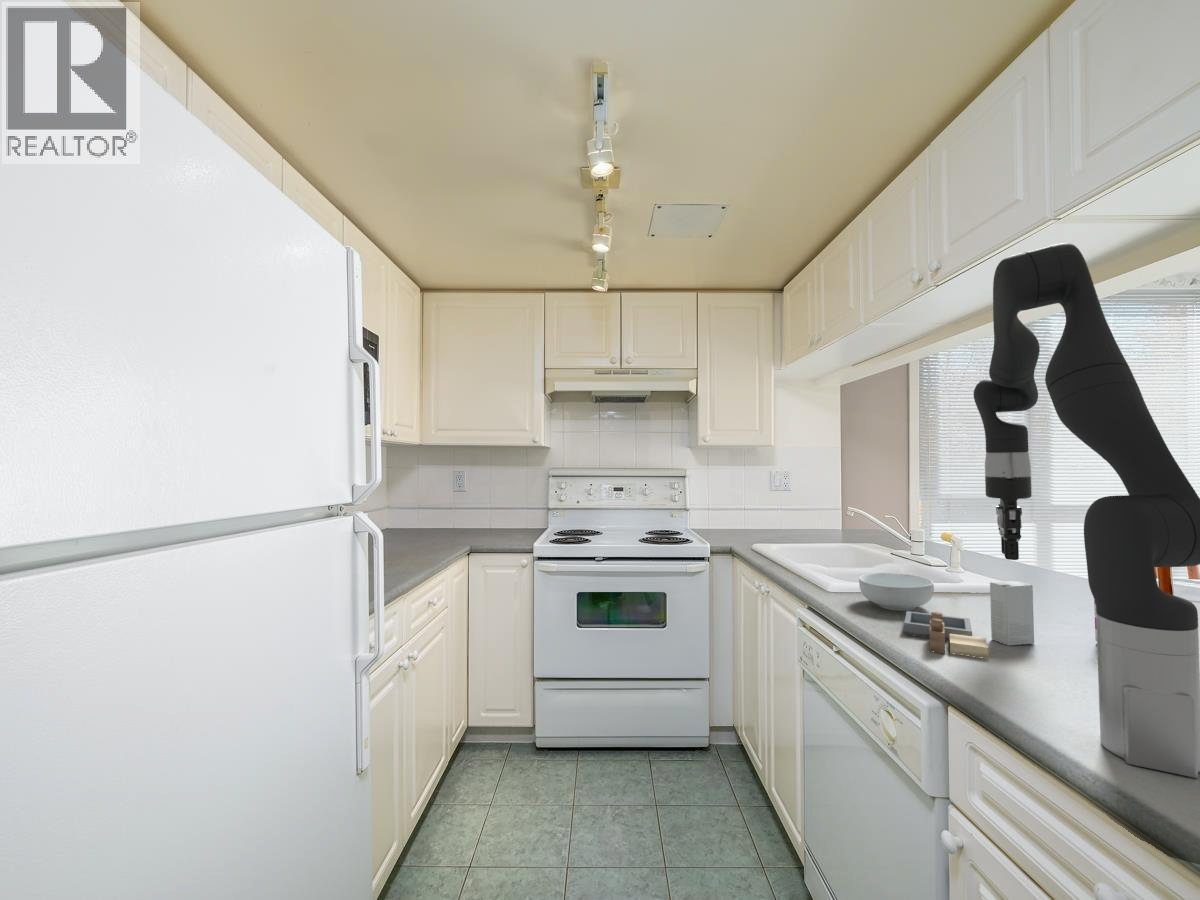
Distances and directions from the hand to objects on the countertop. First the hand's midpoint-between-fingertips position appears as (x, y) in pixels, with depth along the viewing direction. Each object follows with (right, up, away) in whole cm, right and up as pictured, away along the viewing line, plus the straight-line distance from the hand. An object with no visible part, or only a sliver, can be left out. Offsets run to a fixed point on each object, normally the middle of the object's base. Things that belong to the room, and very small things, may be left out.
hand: (1010, 556), depth 110 cm
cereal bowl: (-9, -18, +27) cm, 34 cm away
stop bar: (-16, -18, -2) cm, 24 cm away
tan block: (-12, -18, -5) cm, 22 cm away
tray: (-11, -18, +7) cm, 22 cm away
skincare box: (0, -18, 0) cm, 18 cm away
